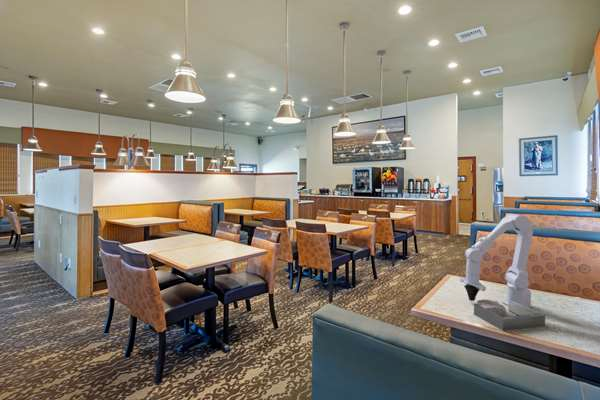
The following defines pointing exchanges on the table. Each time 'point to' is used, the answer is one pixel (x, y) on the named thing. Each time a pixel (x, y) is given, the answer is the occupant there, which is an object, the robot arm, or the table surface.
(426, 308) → the table surface
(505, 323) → the frame
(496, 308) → the stone block
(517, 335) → the table surface
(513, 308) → the sliding jaw
